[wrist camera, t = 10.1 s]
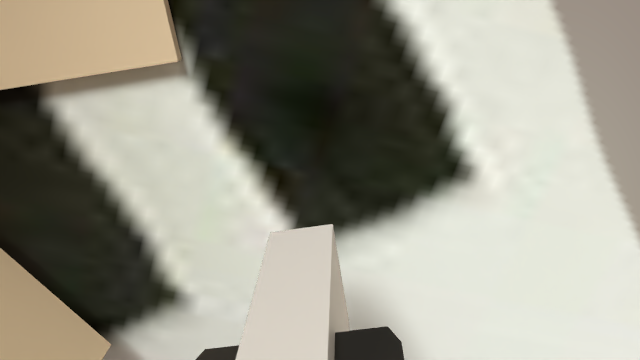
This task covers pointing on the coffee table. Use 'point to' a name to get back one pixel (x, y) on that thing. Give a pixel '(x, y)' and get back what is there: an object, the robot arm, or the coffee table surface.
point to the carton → (82, 38)
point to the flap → (40, 321)
